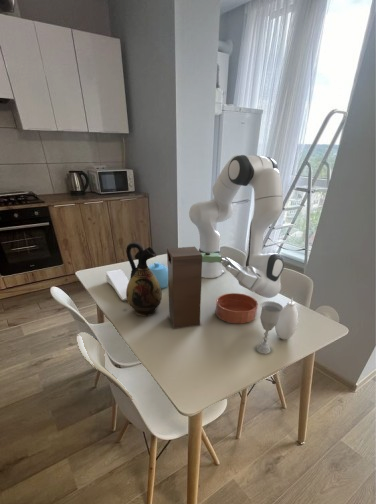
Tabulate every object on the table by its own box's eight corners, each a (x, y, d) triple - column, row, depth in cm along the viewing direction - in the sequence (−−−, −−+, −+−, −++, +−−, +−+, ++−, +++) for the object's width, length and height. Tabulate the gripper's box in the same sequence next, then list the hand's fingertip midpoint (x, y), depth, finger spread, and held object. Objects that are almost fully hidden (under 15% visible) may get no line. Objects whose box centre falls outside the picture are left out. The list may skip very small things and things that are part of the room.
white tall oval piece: (291, 346, 108) (302, 303, 98) (270, 340, 111) (279, 298, 101) (295, 335, 113) (306, 294, 103) (275, 330, 116) (284, 289, 106)
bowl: (210, 307, 133) (211, 295, 129) (245, 303, 136) (247, 291, 133) (223, 326, 118) (225, 314, 115) (262, 321, 122) (264, 309, 119)
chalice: (249, 349, 106) (256, 306, 96) (259, 341, 110) (267, 299, 100) (267, 357, 102) (276, 313, 92) (276, 349, 106) (286, 306, 96)
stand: (169, 316, 125) (166, 248, 109) (193, 313, 128) (194, 246, 111) (173, 328, 117) (172, 256, 101) (199, 324, 120) (202, 254, 103)
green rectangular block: (185, 258, 110) (186, 250, 108) (217, 258, 113) (218, 250, 111) (188, 262, 106) (188, 254, 105) (221, 262, 109) (222, 254, 108)
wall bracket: (139, 308, 142) (121, 281, 160) (142, 295, 138) (123, 269, 157) (120, 308, 137) (103, 280, 155) (122, 295, 133) (105, 268, 151)
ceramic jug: (166, 304, 134) (164, 239, 117) (156, 321, 122) (152, 251, 105) (132, 300, 137) (125, 236, 121) (119, 316, 125) (109, 247, 108)
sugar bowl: (177, 285, 152) (177, 264, 145) (152, 292, 145) (150, 270, 138) (163, 276, 162) (162, 256, 156) (139, 282, 155) (137, 261, 149)
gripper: (242, 261, 126) (217, 248, 120) (264, 280, 110) (237, 265, 103) (234, 274, 128) (210, 261, 122) (254, 293, 112) (227, 280, 105)
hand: (222, 263), depth 112 cm, fingers open, 8 cm apart
